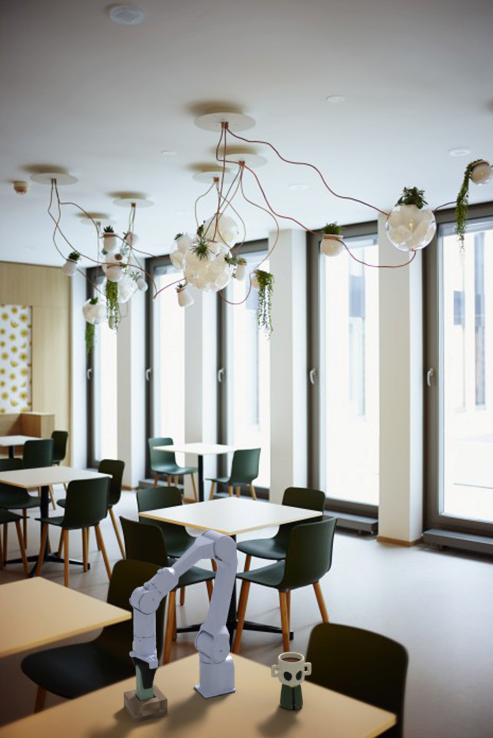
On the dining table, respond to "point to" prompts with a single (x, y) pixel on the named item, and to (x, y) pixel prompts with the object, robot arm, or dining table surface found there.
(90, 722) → the dining table surface
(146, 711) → the hole block
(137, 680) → the square peg
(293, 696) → the character mug
